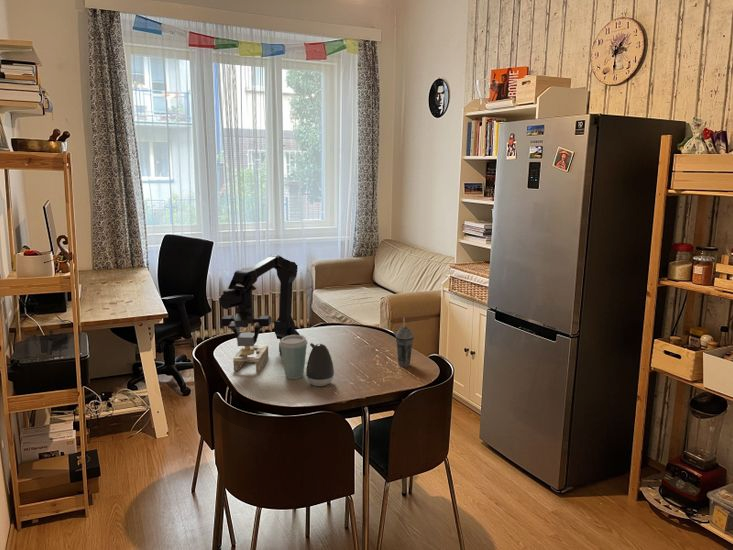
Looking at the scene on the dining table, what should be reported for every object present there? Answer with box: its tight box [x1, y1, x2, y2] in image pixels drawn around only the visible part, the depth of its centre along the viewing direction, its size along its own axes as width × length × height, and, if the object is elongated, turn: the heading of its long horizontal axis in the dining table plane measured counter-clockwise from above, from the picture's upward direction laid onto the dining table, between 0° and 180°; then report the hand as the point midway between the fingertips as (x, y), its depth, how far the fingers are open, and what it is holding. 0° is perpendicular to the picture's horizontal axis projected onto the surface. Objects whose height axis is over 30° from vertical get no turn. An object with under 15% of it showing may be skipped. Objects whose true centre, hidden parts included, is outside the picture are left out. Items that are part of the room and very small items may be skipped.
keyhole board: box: [232, 344, 269, 373], centre depth 230 cm, size 10×16×6 cm, turn 177°
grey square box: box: [236, 332, 258, 356], centre depth 223 cm, size 6×6×7 cm
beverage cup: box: [395, 317, 414, 368], centre depth 230 cm, size 7×7×20 cm
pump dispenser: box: [305, 342, 335, 387], centre depth 210 cm, size 10×10×15 cm
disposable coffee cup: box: [278, 334, 308, 380], centre depth 218 cm, size 11×11×15 cm
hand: (247, 342), depth 222 cm, fingers closed on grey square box, 6 cm apart
